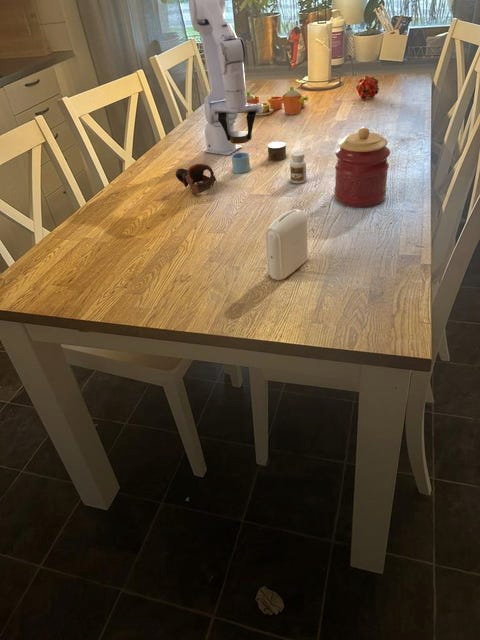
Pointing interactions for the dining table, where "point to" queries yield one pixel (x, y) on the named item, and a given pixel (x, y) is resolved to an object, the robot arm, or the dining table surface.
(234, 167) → the cup
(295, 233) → the photo printer
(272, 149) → the middle chip
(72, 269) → the dining table surface
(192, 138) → the dining table surface
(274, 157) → the base chip
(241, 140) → the top chip
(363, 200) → the kitchen canister
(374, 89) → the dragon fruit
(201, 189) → the pottery mug
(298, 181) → the pill bottle
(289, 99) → the toy tea set
